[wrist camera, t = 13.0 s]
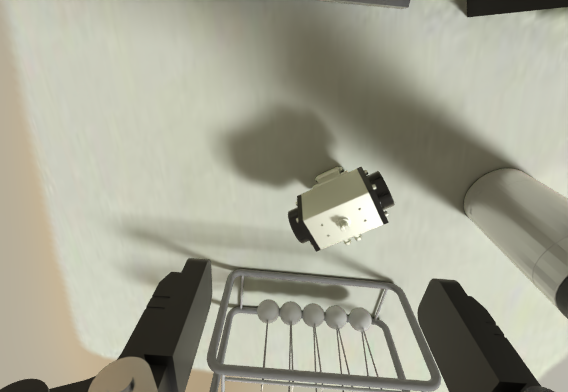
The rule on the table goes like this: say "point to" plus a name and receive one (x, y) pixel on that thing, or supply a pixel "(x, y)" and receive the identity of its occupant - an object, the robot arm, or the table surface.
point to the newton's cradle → (314, 318)
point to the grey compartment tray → (376, 3)
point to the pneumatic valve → (340, 207)
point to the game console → (510, 6)
